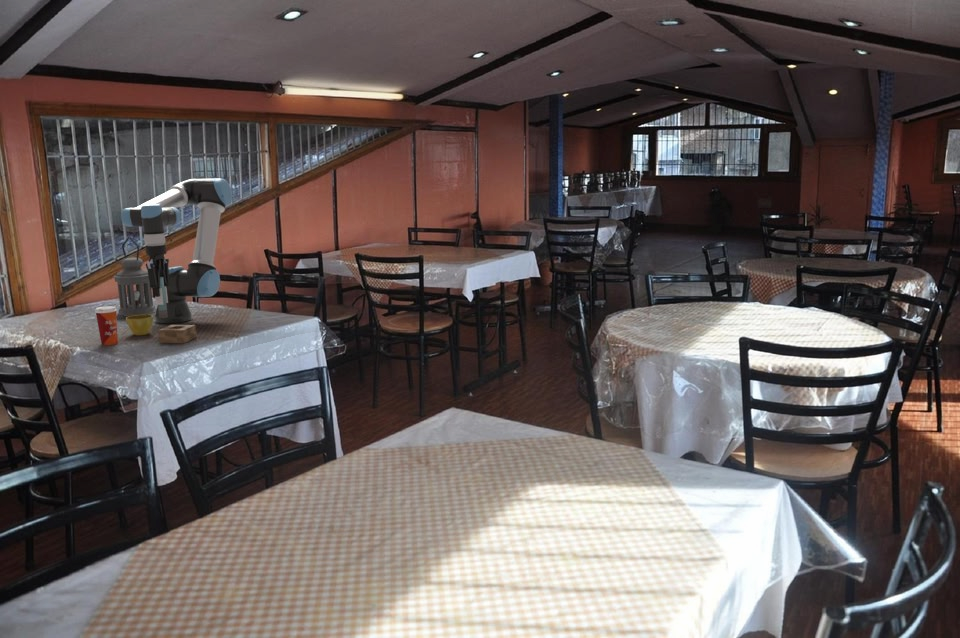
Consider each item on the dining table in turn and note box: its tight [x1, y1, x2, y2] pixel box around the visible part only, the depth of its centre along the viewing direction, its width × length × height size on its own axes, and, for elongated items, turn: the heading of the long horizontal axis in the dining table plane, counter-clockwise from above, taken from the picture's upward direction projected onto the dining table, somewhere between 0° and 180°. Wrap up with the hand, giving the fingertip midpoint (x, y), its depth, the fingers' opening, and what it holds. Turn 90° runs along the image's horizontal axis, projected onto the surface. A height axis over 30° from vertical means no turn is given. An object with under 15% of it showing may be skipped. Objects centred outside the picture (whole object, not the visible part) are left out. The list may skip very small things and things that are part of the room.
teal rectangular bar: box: [157, 277, 168, 318], centre depth 312 cm, size 3×3×16 cm
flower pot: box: [125, 314, 154, 336], centre depth 317 cm, size 10×10×7 cm
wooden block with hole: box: [157, 324, 197, 344], centre depth 305 cm, size 10×10×5 cm
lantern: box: [113, 236, 157, 317], centre depth 362 cm, size 17×17×35 cm
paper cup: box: [94, 305, 119, 346], centre depth 300 cm, size 8×8×14 cm
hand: (162, 303), depth 313 cm, fingers closed on teal rectangular bar, 3 cm apart
